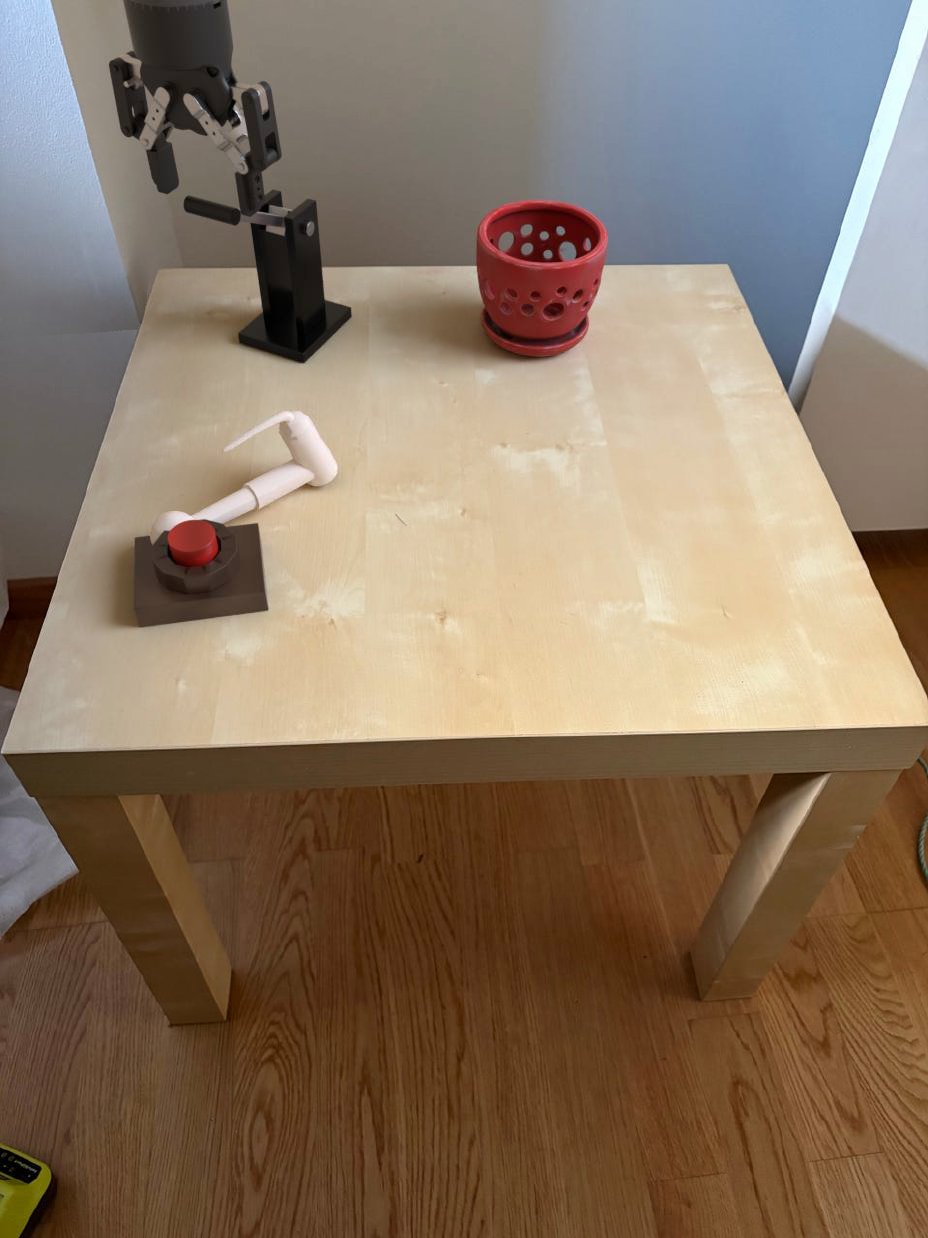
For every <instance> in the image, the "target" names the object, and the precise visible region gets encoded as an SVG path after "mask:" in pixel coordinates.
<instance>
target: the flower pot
mask: <svg viewBox="0 0 928 1238" xmlns="http://www.w3.org/2000/svg"><path fill="white" fill-rule="evenodd" d="M526 225H530V226H531V228H532V230H531V232H530V233H529V234H527V235H524V234H523V233H522V228H524V226H526ZM559 227H560V228H563V230H564V233H563V234H559V232H558V229H557V228H559ZM507 232H509V233H511V234H512V236H513V241H512V243H511V245H510V246H509V248H507V249H506V250H501V249H500V246H499V242H500V239H501V237H502V235H503V234H505V233H507ZM542 233H547V235H548V237H547V238H546V239H545V238H541V234H542ZM587 239H588V241H589V243H590V248H588V246H587ZM608 242H609V235H608V231H607V229H606V227H605V225H604V223H603V222H602V221H601V220H600V219H599V218H598V217H597V216H595V215H594V214H592V213H591V212H590V211H588V210H586V209H585V208H582V207H580V206H577V205H574V204H571V203H566V202H562V201H557V200H549V199H548V200H547V199H527V200H519V201H513V202H509V203H506V204H503V205H500V206H497V207H496V208H494V209H492V210H491V211H490V212H488V213H487V214H486V215H485V216H484V217H483V218H482V219H481V221H480V223H479V225H478V226H477V230H476V245H475V247H476V249H475V251H476V252H475V260H476V261H475V263H476V275H477V282H478V290H479V294H480V297H481V300H482V303H483V305H484V306H483V307H482V310H481V312H480V313H481V315H480V321H481V325H482V328H483V331H484V332H485V334H486V335H487V336H488V337H489V338H490V339H491V341H492V342H494V343H495V344H496V345H498V346H499V347H501V348H503V349H504V350H506V351H509V352H512V353H514V354H518V355H523V356H528V357H549V356H555V355H559V354H562V353H565V352H567V351H569V350H571V349H572V348H574V347H575V346H577V345H578V344H579V343H581V342H582V341H583V340H584V338H585V337H586V335H587V333H588V331H589V327H590V317H589V314H588V313H589V312H590V310H591V308H592V306H593V304H594V302H595V300H596V298H597V296H598V292H599V289H600V287H601V284H602V275H603V271H604V267H605V263H606V259H607V252H608V244H609V243H608ZM564 243H570V244H572V245H573V248H574V249H575V256H574V259H570V260H566V259H565V258H564V257H563V256H562V253H561V246H562V245H563V244H564ZM525 244H531V245H532V251H531V252H530V253H528V254H524V253H523V251H522V248H523V246H524V245H525ZM546 251H549V252H551V254H552V255H551V257H549V258H548V257H546V256H545V255H544V254H545V252H546Z"/></svg>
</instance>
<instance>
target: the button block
mask: <svg viewBox="0 0 928 1238" xmlns="http://www.w3.org/2000/svg"><path fill="white" fill-rule="evenodd" d="M201 521H205V522H207V523H209V524H210V525H211V526H212V527H213V528H214V531H215V535H216V539H217V544H218V553H217V555H216V557H215V558H214V559H213V560H212V561H210V562H209V563H207V564H205V565H203V566H195V567H185V566H181V565H179V564H178V563H176V562H175V561H174V559H173V557H172V554H171V550H170V547H169V543H168V534H169V532H170V531H166V530H165V531H164V532H162V534H161V535H160V536H159V537H158V539H157V540H156V541H155V543H154V544H153V545H152V543H151V540H150V535H143V536H135V537H134V553H133V554H134V558H133V563H134V564H133V606H132V607H133V612H134V614H135V618H136V620H137V622H138V627H139V628H145V627H152V626H159V625H167V624H174V623H182V622H189V621H197V620H198V621H199V620H204V619H212V618H213V619H214V618H220V617H228V616H235V615H242V614H243V615H244V614H251V613H257V612H258V613H259V612H265V611H269V600H268V592H267V591H268V590H267V581H266V573H265V571H266V570H265V562H264V551H263V543H262V537H261V531H260V525H259V523H258V522H254V523H245V524H237V525H229V526H226V525H225V523H223V524H222V523H218V522H214V521H210V520H206V519H201Z"/></svg>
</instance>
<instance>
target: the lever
mask: <svg viewBox="0 0 928 1238" xmlns="http://www.w3.org/2000/svg"><path fill="white" fill-rule="evenodd" d="M182 207H183V210H184V211H185V212H186V213H187V214H190V215H195V216H198V217H201V218H206V219H208V220H213V221H216V222H220V223H223V224H227V225H231V226H233V227H234V226H238V225H239V224H240V222H242V223H248V224H250V223H255V224H262V225H266V231H268V232H271V233H275V234H278V235H282V236H286V231H285V222H284V217H285V216H286V215H287V214H288V213H290V212H291V211H292V210H293V209H291V208H286V207H284V206H283V207H277V206H272V205H269V211H268V213H264V212H257V213H255V214H254V215H253V216H251V217H248V216H244V215H242V214H241V212H240V207H235V206H230V205H227V204H223V203H221V202H220V203H219V202H216V201H213V200H209V199H205V198H202V197H198V196H193V195H190V194H189V195H187V196H185V197H184V200H183V205H182Z"/></svg>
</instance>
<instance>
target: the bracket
mask: <svg viewBox="0 0 928 1238" xmlns="http://www.w3.org/2000/svg"><path fill="white" fill-rule="evenodd" d="M283 204H284V203H283V194H282V191H280V190H277V189H273V188H272V189H271V190H270V191H268V192H267V193H265V202H264V205H263V206H261V209H260V210H259V211H258V212H264V213H268V211H269V205H272V206H277V207H283V208H284V205H283ZM317 207H318V205H317V200H315V199H312V198H306V199H305V200H304V201H303V202H300V204H299V205H297V206H296V207H295V208H294V209H291V210H292V211H291V212H290V213H288V214H287V215H286V216H285V217H284V222H285V231H286V236H282V235H278V234H275V233H271V232H268V231H266V225H262V224H255V223H249V225H250V231H251V237H252V245H253V252H254V260H255V265H256V266H255V267H256V273H257V274H256V275H257V280H258V281H257V282H258V288H259V294H260V295H259V296H260V300H261V301H260V302H261V303H260V304H261V310H262V311H261V313H259V314H258V315H257V316H256V317H255V318H253V319H252V320H251V321H250V322H249V323H248V324H247V325H245V326H244V327H243V328H242V329H241V330H239V332H237V338H238V343H239V344H241V345H244V346H248V347H251V348H253V349H254V348H255V349H257V350H261V351H264V352H268V353H270V354H273V355H277V356H280V357H283V358H287V359H289V360H292V361H295V362H299V363H302V364H305V363H306V362H307V361H308V360H310V358H311V357H312V356H314V354H315V353H317V351H319V349H321V348H322V347H323V345H325V343H327V342H328V341H329V340H330V339H331V338H332V337H333V336H334V335H335V334H336V333H338V331H339V330H340V329H341V328H342V327H343V326H345V324H346V323H347V322H348V321H350V319H351V318H352V316H353V314H352V313H353V312H352V307H351V306H348V305H344V304H341V303H338V302H334V301H331V300H327V299H325V289H324V288H325V286H324V277H323V276H324V275H323V264H322V253H321V241H320V229H319V217H318V208H317Z"/></svg>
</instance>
